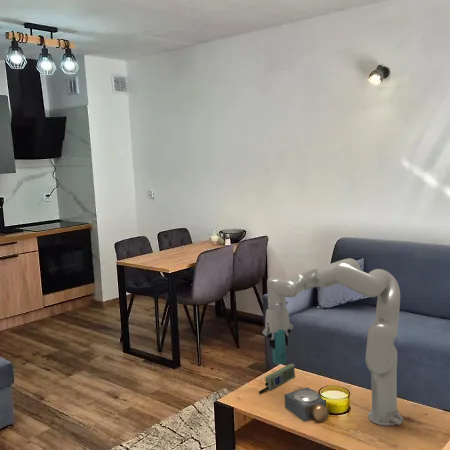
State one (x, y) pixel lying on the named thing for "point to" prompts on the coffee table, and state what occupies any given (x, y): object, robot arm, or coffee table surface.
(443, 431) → the coffee table surface
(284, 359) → the beverage bottle
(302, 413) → the motor housing
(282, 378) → the handheld radio
